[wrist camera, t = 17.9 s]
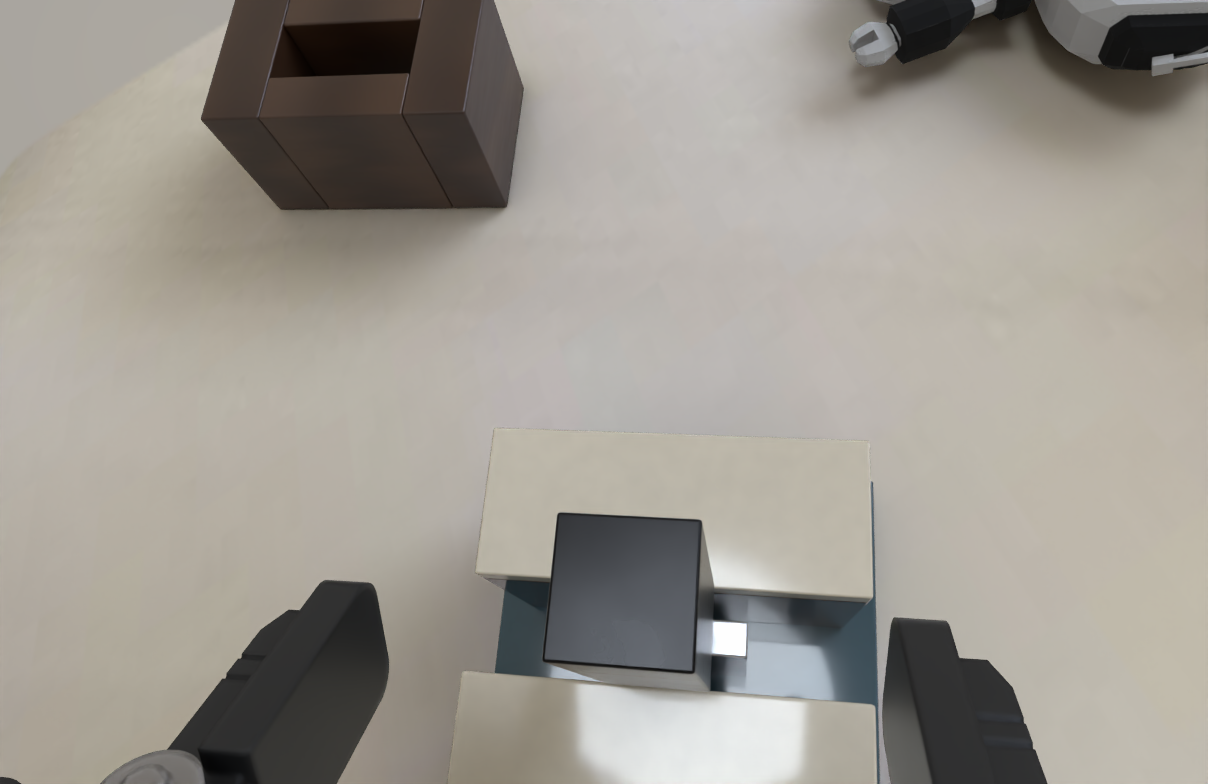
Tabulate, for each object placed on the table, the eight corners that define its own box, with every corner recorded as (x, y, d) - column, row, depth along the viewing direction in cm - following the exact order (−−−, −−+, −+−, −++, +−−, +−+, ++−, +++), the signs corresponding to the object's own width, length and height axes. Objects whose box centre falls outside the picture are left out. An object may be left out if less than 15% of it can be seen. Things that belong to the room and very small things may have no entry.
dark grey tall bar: (616, 693, 28) (491, 657, 14) (622, 615, 29) (509, 508, 15) (745, 704, 27) (748, 678, 13) (747, 624, 28) (752, 521, 14)
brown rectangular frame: (279, 209, 37) (199, 119, 32) (307, 94, 39) (236, -10, 34) (507, 208, 36) (464, 112, 30) (524, 87, 38) (487, -23, 32)
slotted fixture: (480, 842, 28) (390, 881, 20) (524, 471, 32) (462, 398, 25) (878, 888, 26) (930, 950, 18) (870, 486, 30) (909, 411, 23)
